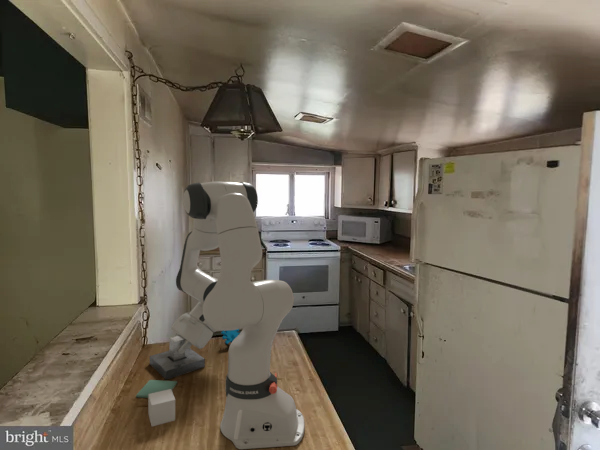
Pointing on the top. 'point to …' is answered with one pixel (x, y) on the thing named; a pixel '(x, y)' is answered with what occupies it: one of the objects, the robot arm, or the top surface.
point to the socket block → (176, 364)
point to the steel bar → (174, 345)
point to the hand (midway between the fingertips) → (175, 350)
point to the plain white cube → (161, 407)
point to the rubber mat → (155, 387)
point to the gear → (230, 335)
